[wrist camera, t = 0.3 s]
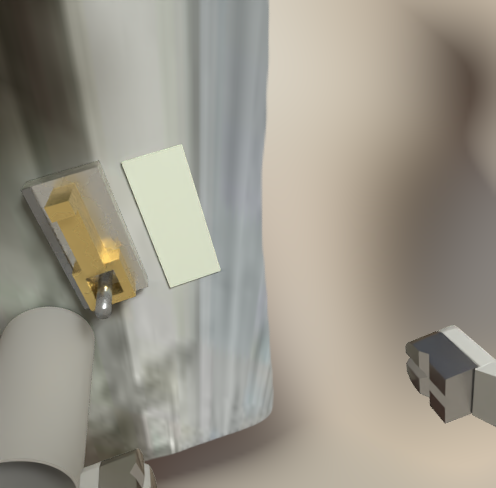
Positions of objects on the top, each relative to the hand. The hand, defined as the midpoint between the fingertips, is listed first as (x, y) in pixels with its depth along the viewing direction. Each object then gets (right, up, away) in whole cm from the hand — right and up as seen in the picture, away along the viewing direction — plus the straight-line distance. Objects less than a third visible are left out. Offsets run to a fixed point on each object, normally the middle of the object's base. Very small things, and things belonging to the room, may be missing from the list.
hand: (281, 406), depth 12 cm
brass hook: (-21, +5, +41) cm, 47 cm away
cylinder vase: (-30, -9, +50) cm, 59 cm away
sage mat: (-11, +8, +46) cm, 48 cm away
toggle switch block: (-22, +6, +44) cm, 50 cm away
